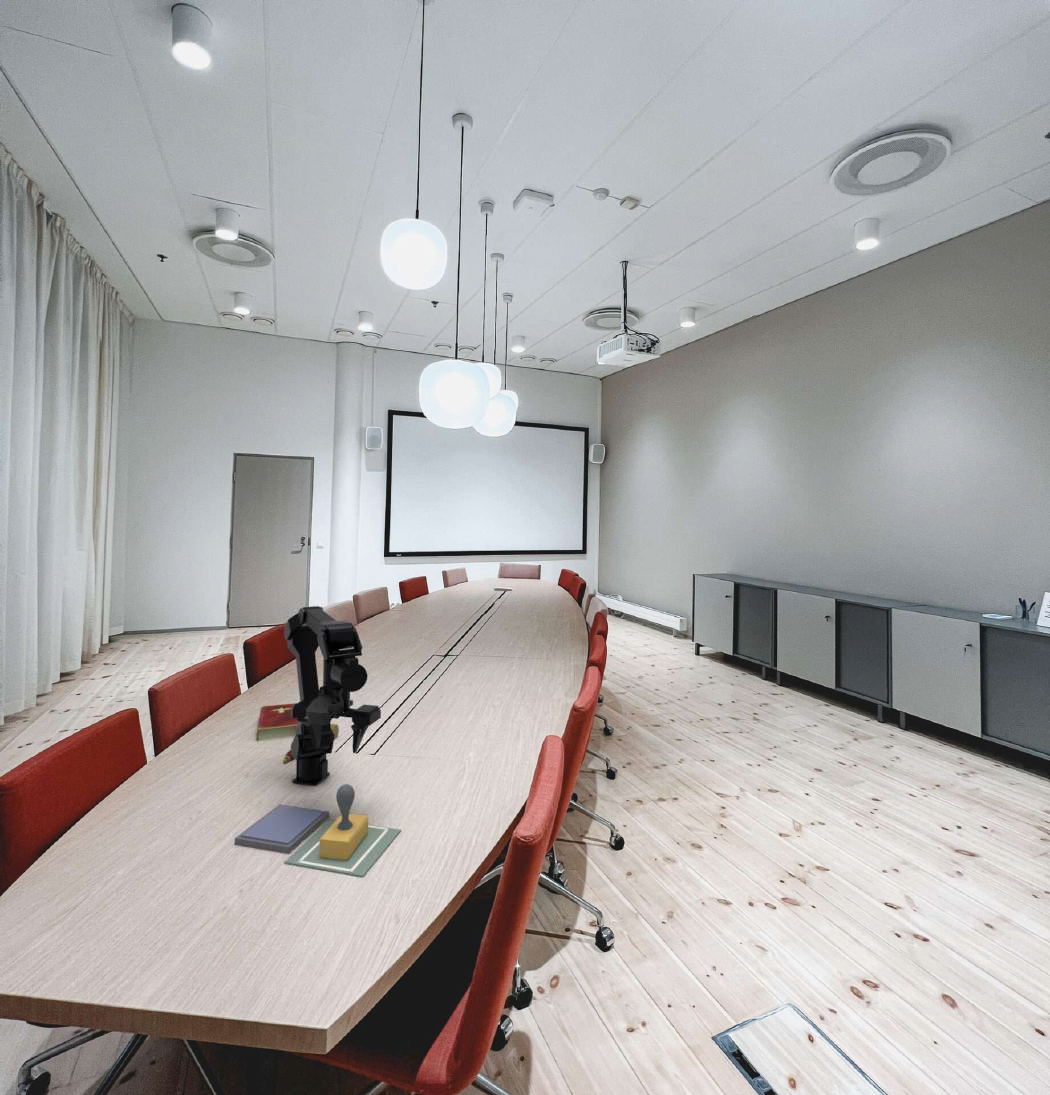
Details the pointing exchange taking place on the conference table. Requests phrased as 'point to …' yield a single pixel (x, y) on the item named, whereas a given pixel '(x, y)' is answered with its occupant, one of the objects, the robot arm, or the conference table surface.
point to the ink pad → (282, 828)
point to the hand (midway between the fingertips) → (335, 750)
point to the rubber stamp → (344, 828)
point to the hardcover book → (276, 722)
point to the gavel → (335, 731)
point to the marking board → (358, 860)
